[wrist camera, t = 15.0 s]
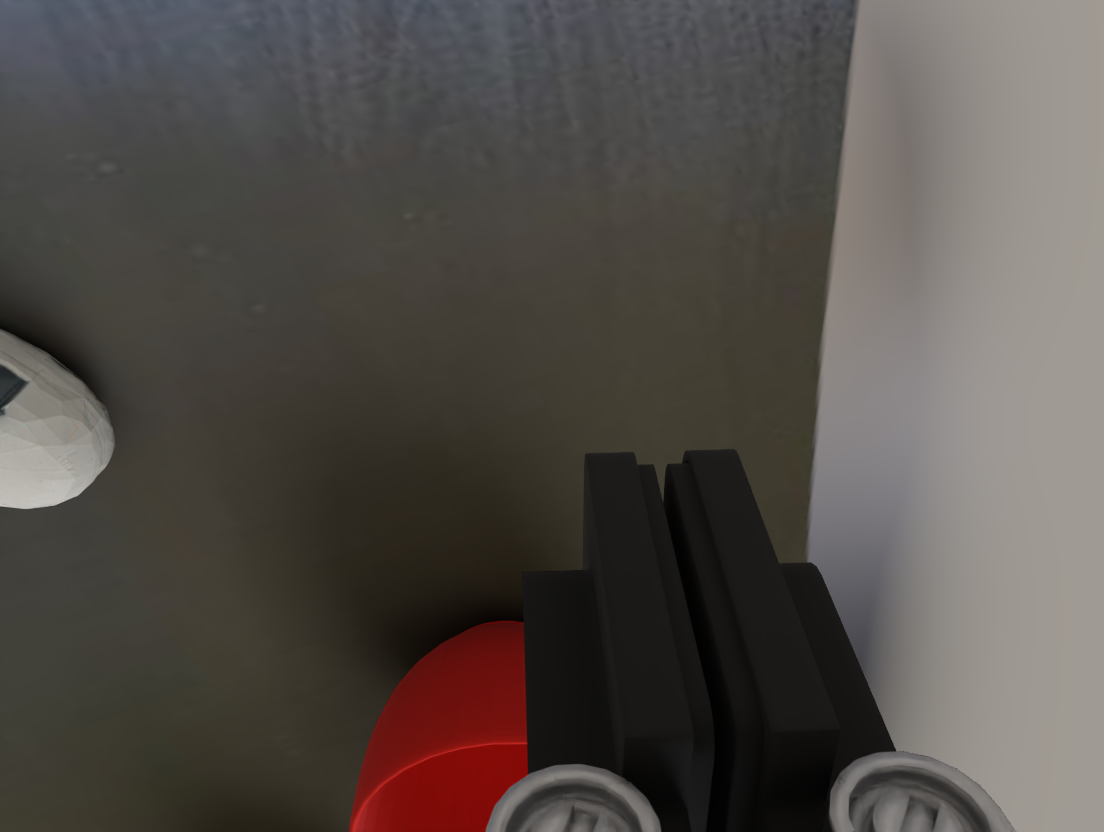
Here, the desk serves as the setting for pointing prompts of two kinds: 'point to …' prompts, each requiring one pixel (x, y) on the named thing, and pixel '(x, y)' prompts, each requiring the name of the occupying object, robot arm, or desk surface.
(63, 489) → the sneaker
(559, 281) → the desk surface
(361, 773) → the ceramic cup
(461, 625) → the desk surface
